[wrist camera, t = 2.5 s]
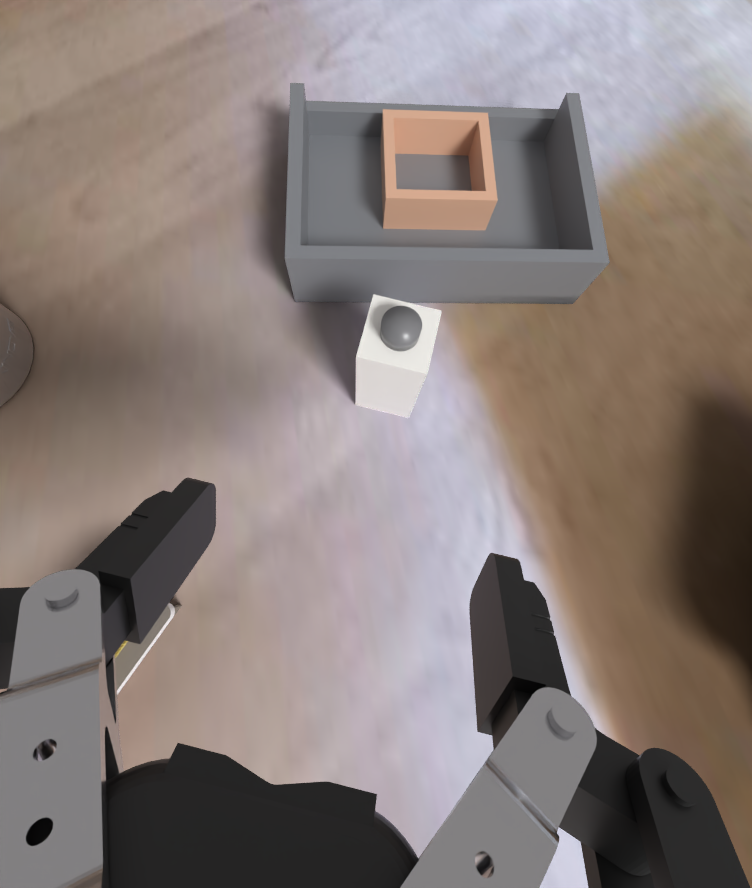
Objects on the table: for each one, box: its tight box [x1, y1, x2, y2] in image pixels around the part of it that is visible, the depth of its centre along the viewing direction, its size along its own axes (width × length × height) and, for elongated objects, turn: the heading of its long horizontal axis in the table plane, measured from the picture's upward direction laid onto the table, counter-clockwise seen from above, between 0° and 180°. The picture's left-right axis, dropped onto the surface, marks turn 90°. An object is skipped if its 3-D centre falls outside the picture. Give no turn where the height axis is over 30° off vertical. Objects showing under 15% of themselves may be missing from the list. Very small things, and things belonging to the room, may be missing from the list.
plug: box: [355, 294, 442, 418], centre depth 27 cm, size 4×4×9 cm
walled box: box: [285, 83, 610, 304], centre depth 33 cm, size 22×16×5 cm
